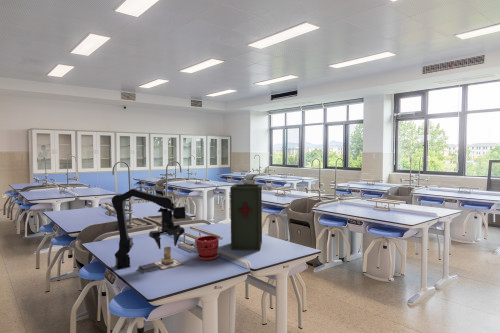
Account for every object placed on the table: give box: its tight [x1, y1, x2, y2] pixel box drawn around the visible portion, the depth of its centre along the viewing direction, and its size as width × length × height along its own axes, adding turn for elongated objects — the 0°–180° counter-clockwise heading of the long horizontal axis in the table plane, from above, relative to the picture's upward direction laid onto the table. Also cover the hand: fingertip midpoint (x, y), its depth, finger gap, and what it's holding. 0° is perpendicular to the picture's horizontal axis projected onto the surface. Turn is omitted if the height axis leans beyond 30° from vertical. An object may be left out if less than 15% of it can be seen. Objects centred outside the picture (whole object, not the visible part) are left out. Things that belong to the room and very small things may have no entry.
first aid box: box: [229, 183, 263, 251], centre depth 215 cm, size 18×18×40 cm
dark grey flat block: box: [137, 262, 159, 274], centre depth 174 cm, size 8×7×2 cm
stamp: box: [160, 246, 175, 266], centre depth 182 cm, size 5×5×9 cm
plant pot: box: [195, 235, 220, 261], centre depth 192 cm, size 13×13×12 cm
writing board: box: [152, 258, 185, 271], centre depth 182 cm, size 13×13×1 cm
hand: (167, 247), depth 182 cm, fingers open, 9 cm apart
